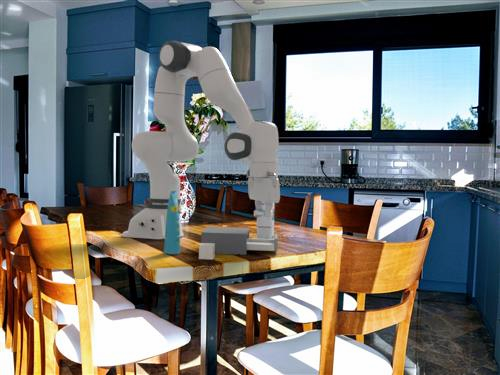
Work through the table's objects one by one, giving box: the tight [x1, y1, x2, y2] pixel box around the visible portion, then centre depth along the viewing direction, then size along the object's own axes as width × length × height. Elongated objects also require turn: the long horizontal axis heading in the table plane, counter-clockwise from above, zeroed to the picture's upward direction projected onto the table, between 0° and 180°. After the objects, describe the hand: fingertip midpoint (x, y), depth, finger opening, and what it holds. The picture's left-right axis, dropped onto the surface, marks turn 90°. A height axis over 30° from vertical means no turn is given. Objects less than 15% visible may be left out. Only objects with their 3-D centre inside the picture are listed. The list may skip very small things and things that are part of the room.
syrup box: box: [256, 201, 275, 239], centre depth 170 cm, size 6×6×14 cm
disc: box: [253, 209, 273, 218], centre depth 145 cm, size 6×6×2 cm
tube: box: [163, 190, 181, 255], centre depth 138 cm, size 7×5×19 cm, turn 3°
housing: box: [200, 226, 250, 256], centre depth 147 cm, size 14×14×6 cm
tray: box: [246, 233, 279, 252], centre depth 146 cm, size 13×11×4 cm
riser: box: [198, 242, 216, 260], centre depth 133 cm, size 4×4×4 cm
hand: (263, 215), depth 145 cm, fingers closed on disc, 6 cm apart
